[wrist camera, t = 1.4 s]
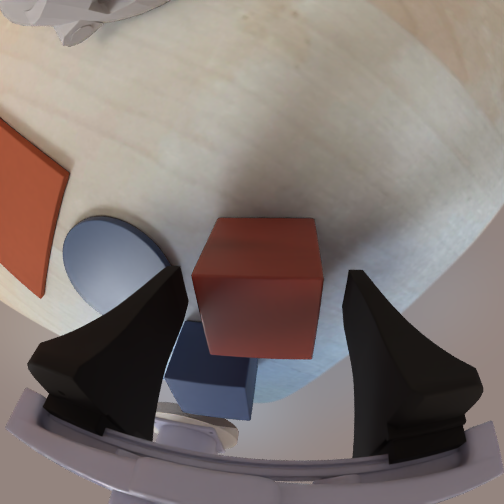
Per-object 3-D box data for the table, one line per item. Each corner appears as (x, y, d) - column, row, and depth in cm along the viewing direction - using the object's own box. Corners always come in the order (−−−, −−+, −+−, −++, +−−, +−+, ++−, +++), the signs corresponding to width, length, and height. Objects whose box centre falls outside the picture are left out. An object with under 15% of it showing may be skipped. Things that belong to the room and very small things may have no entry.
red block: (309, 293, 15) (312, 360, 11) (227, 290, 16) (209, 355, 12) (314, 217, 13) (324, 278, 9) (217, 217, 13) (190, 275, 9)
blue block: (257, 366, 19) (250, 421, 15) (197, 361, 20) (182, 412, 16) (254, 324, 17) (245, 387, 13) (184, 320, 17) (163, 377, 14)
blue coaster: (189, 328, 18) (187, 333, 17) (92, 315, 19) (89, 319, 18) (161, 212, 13) (157, 217, 13) (51, 219, 14) (46, 222, 14)
